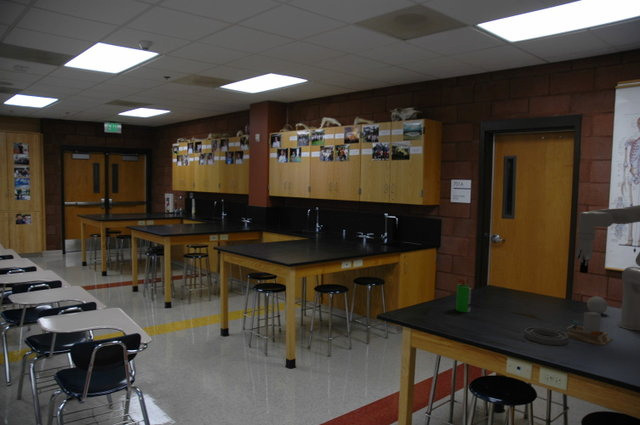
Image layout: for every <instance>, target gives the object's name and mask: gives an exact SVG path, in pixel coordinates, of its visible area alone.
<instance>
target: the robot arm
mask: <svg viewBox="0 0 640 425" xmlns="http://www.w3.org/2000/svg"><path fill="white" fill-rule="evenodd" d="M634 223H635V224H636V223H640V204H639V205H633V206H625V207H615V208H604V209H595V210H590V211H582V212H581V211H580V212H579V215H578V226H577V245H576V252H575V259H578V260H579V263H580V264H579V273H581V274H588V273H589V262H590V259H592V258H593V253H594V241H595V240H596V227H598V228H608V227H611V226H612V225H628V224H634ZM635 264H636V265H637V266H639V267H636V266H628V267H626V268H624V270H623V271H622V273H621V278H622V279H621V280H622V286H623V289H622V301H621V302H622V303H621V315H620V316H621V318H620V321H618V322H617V324H616V325H617V326H618V327H620V328H623V329H626V330H630V331H638V332H639V331H640V251H639V252H638V254H637V256H636V257H635Z"/></svg>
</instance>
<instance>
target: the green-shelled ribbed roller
mask: <svg viewBox="0 0 640 425" xmlns="http://www.w3.org/2000/svg"><path fill="white" fill-rule="evenodd" d="M459 283H460V284H459ZM456 288H457V289H456V300H455V310H456V311H457V312H461V313H469V312H471V306H469V304H471V297H472V296H471V295H472V291H471V290H472V288H471V287H469V284H466V283H465V280H464V279H463V278H459V279H458V284H457V286H456Z"/></svg>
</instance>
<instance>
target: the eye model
mask: <svg viewBox="0 0 640 425" xmlns="http://www.w3.org/2000/svg"><path fill="white" fill-rule="evenodd" d="M586 305H587V309H588V310H589V312H596V313H599V314H601V315H602V314H603V313H605V312H606V311H607V309H608V302H607V301H606V300H605V299H604V298H603V297H601V296H597V295H596V296H591V297H590V298H589V299H588V300H587V302H586Z"/></svg>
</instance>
